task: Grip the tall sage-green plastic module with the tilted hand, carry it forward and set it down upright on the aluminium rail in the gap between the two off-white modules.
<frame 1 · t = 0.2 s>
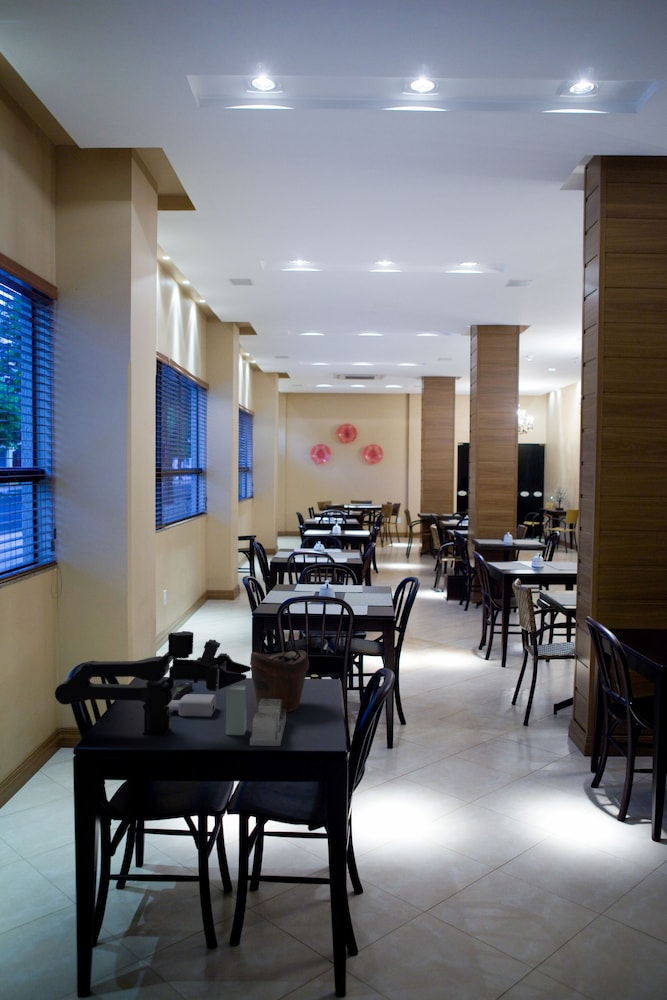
hand: (248, 672, 208), 17 cm above the table, tool horizontal, fingers open, 9 cm apart
disk drive: (169, 695, 247), on the table
module: (236, 732, 209), on the table
brown flower pot: (279, 707, 234), on the table
charger: (188, 713, 227), on the table
rail: (268, 732, 209), on the table
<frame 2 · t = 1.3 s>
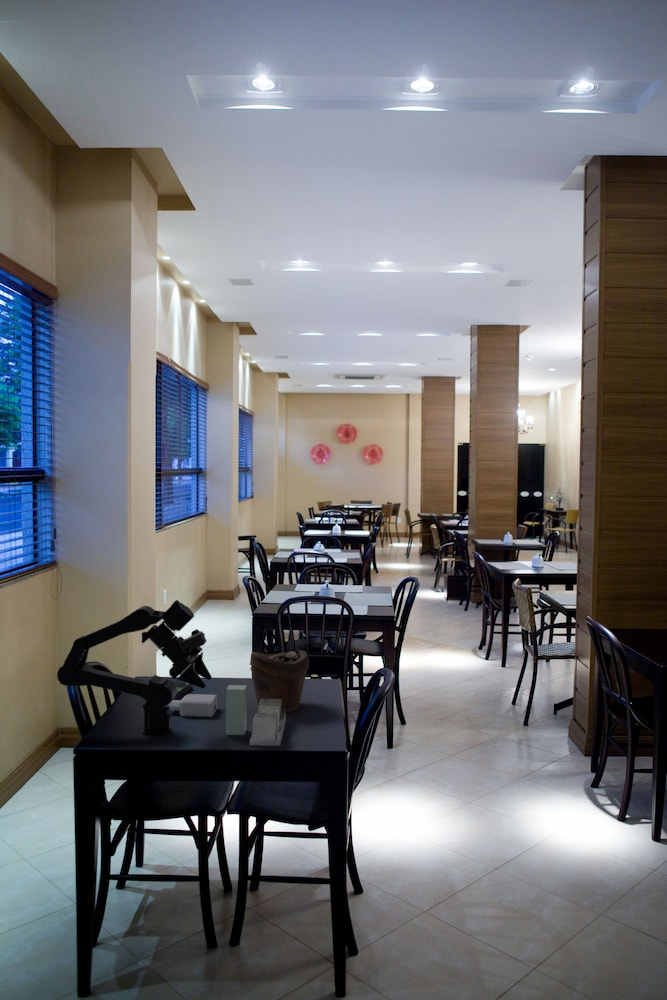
hand: (207, 682, 209), 14 cm above the table, tool tilted 45°, fingers open, 9 cm apart
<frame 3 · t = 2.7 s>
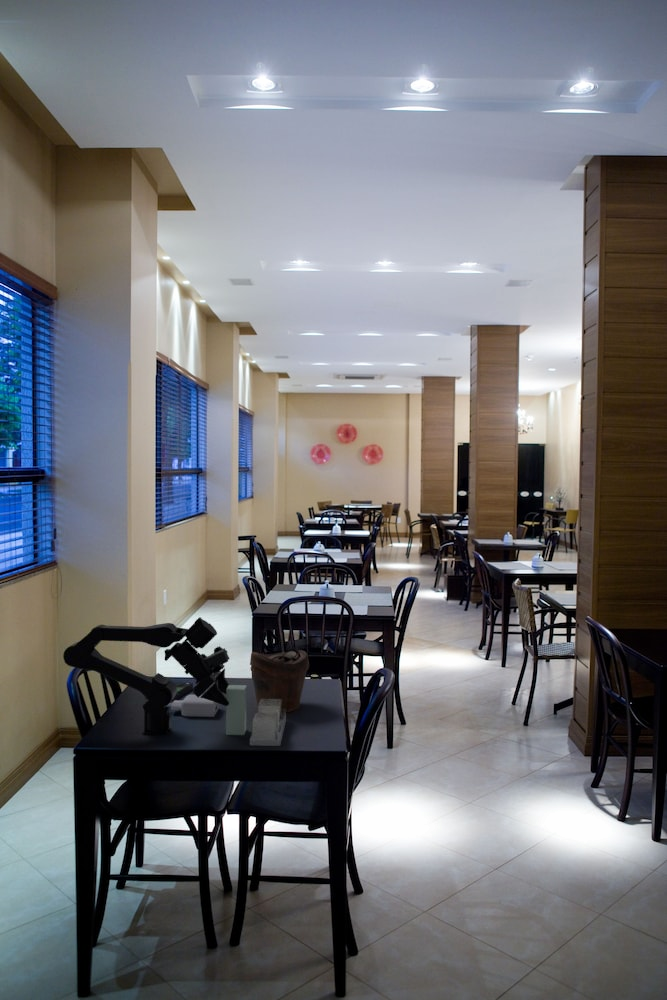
hand: (230, 700, 209), 9 cm above the table, tool tilted 45°, fingers open, 9 cm apart
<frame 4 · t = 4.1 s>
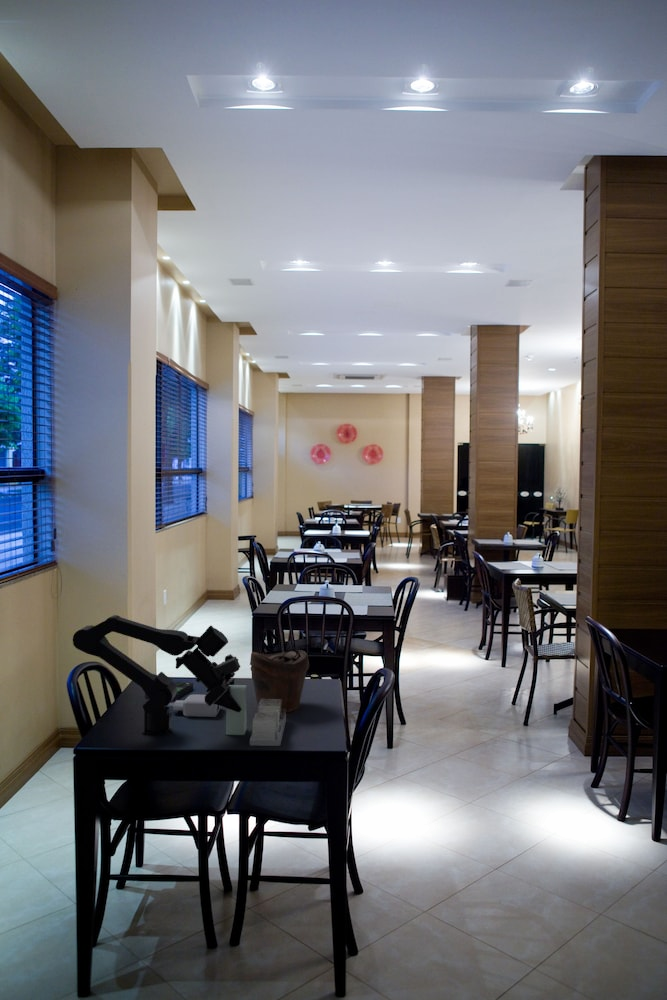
hand: (241, 708, 209), 7 cm above the table, tool tilted 45°, fingers closed on module, 4 cm apart
module: (236, 732, 209), on the table, touching gripper
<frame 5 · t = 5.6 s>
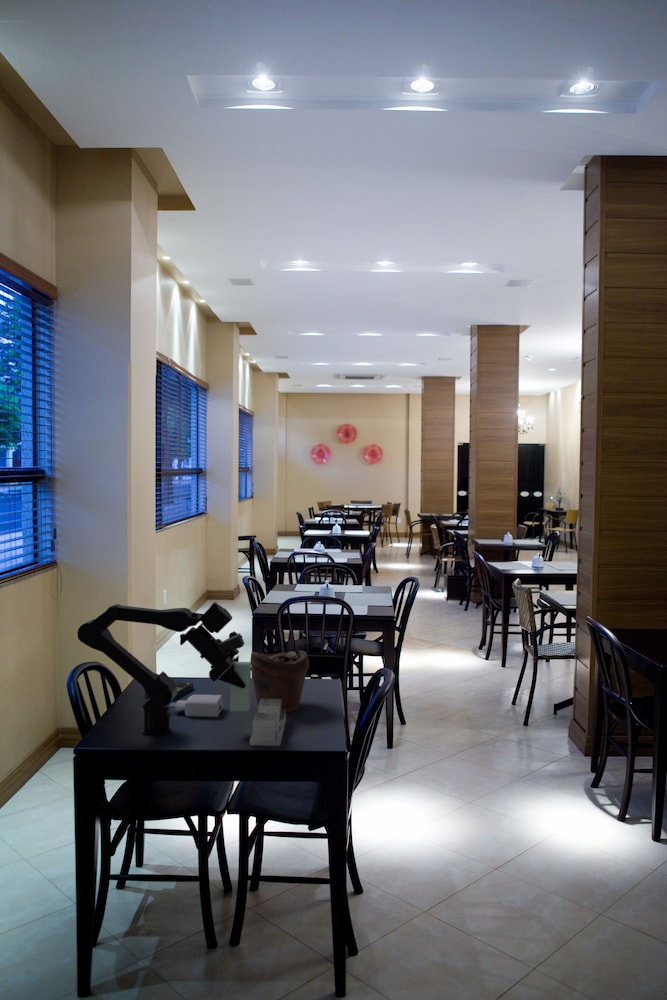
hand: (245, 685, 209), 13 cm above the table, tool tilted 45°, fingers closed on module, 4 cm apart
module: (240, 708, 209), point 7 cm above the table, touching gripper
when the fingers open (9 cm above the table, at t = 7.4 s): module drops 1 cm, resting on rail.
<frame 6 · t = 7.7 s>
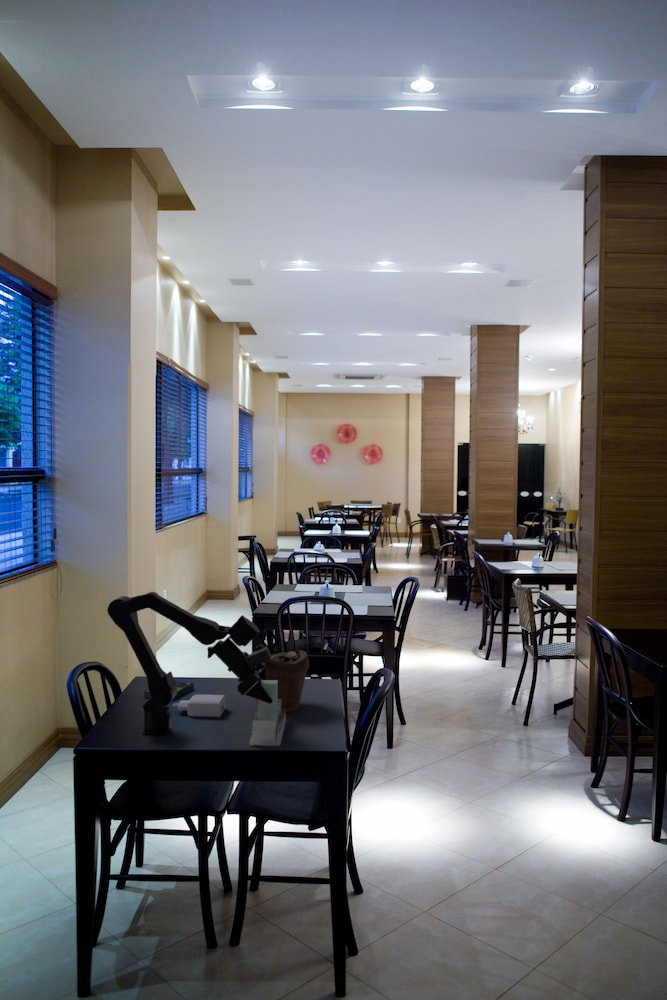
hand: (272, 698, 209), 10 cm above the table, tool tilted 45°, fingers open, 8 cm apart
module: (267, 727, 209), point 1 cm above the table, touching rail
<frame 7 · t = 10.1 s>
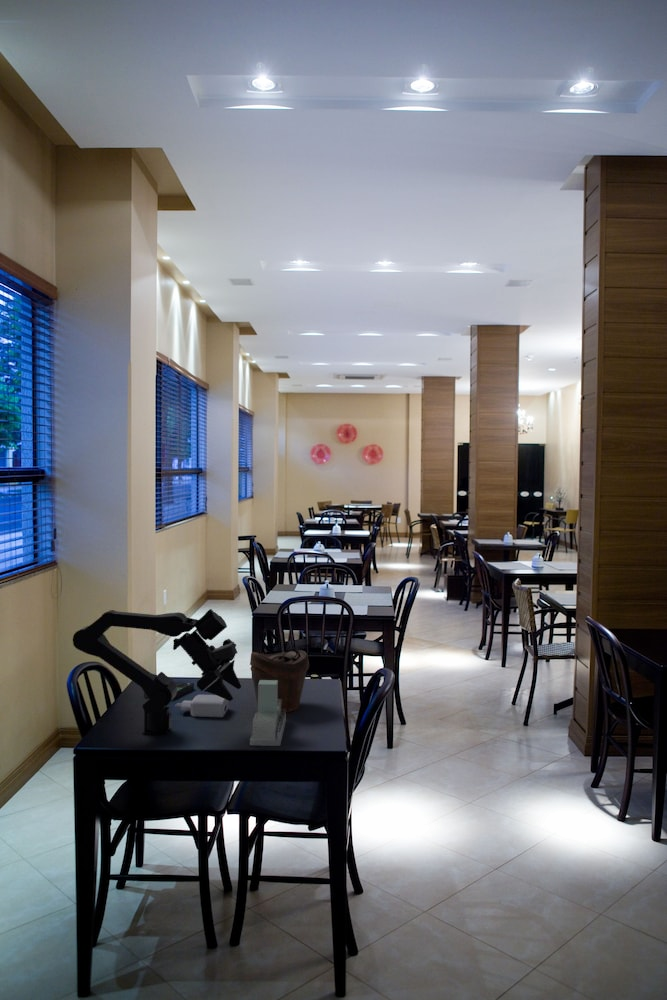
hand: (236, 693, 208), 11 cm above the table, tool tilted 40°, fingers open, 9 cm apart
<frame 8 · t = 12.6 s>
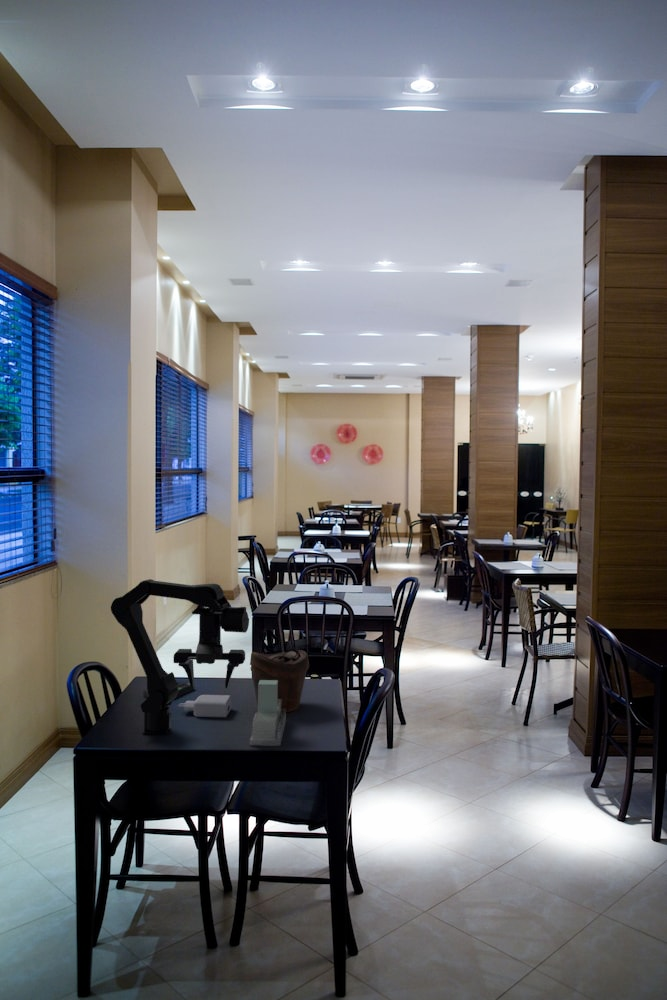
hand: (209, 687, 206), 13 cm above the table, tool pointing down, fingers open, 9 cm apart
at the end: module 0.0 cm off-centre on the rail, point 1.5 cm above the rail's base; module tilted 0°; the gripper is holding nothing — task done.
